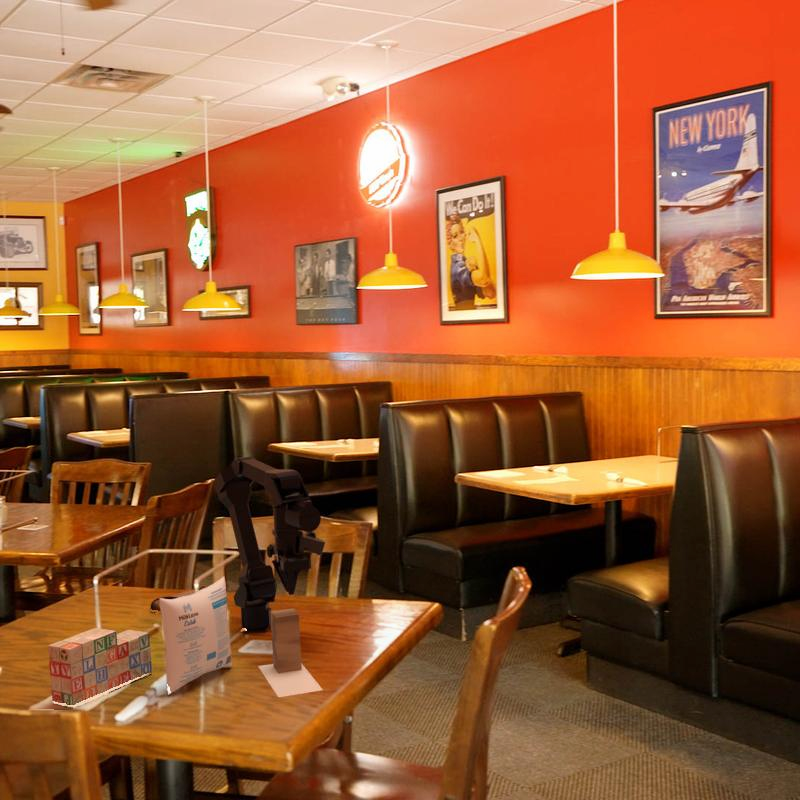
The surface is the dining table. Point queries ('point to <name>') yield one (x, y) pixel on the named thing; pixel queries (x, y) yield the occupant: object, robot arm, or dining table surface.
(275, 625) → the walnut block
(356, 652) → the dining table surface
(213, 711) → the dining table surface
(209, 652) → the pouch
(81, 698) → the stack of blocks
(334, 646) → the dining table surface
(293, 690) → the placemat
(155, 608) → the sunglasses case
